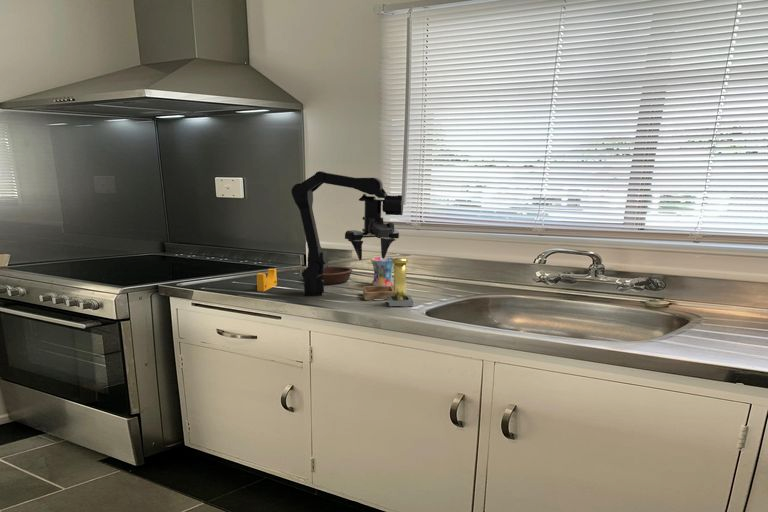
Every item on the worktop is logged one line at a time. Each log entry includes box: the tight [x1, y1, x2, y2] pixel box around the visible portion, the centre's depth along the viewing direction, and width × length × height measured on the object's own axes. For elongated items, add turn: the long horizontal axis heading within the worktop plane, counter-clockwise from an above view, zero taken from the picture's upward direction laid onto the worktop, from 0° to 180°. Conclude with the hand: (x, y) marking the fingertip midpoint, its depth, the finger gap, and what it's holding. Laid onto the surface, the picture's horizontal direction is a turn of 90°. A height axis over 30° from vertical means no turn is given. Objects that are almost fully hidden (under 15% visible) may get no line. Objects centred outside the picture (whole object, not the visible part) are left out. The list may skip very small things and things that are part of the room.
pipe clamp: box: [256, 268, 278, 292], centre depth 195 cm, size 12×4×6 cm, turn 169°
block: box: [386, 294, 414, 307], centre depth 169 cm, size 8×8×2 cm
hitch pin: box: [392, 257, 409, 300], centre depth 168 cm, size 5×5×15 cm
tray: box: [362, 285, 394, 301], centre depth 180 cm, size 10×10×3 cm
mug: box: [370, 256, 394, 287], centre depth 198 cm, size 12×9×11 cm
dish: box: [321, 266, 353, 285], centre depth 207 cm, size 18×22×5 cm
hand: (371, 259), depth 180 cm, fingers open, 9 cm apart
